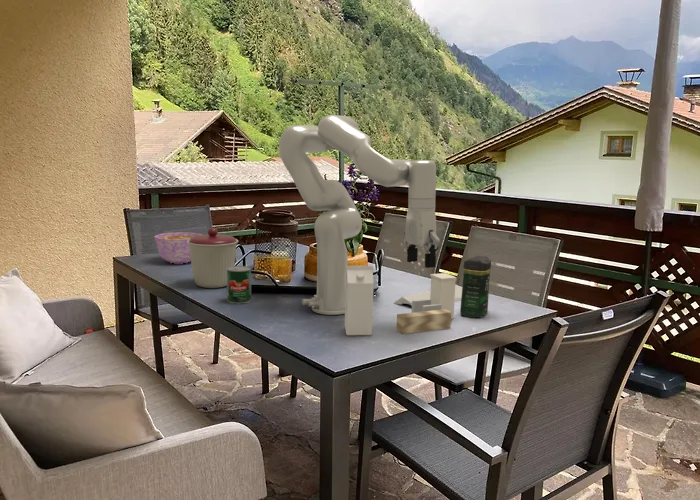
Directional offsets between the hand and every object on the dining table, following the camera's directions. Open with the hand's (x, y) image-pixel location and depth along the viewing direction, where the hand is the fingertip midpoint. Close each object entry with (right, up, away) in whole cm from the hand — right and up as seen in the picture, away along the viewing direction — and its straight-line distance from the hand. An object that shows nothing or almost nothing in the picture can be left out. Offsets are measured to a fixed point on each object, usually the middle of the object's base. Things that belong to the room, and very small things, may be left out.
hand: (421, 264), depth 170 cm
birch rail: (+1, -19, +2) cm, 19 cm away
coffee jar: (+19, -16, +18) cm, 31 cm away
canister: (-70, -9, +48) cm, 85 cm away
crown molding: (+9, -14, +34) cm, 38 cm away
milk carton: (-18, -19, -2) cm, 26 cm away
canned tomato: (-57, -13, +27) cm, 65 cm away
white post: (+6, -17, +14) cm, 22 cm away
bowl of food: (-93, -1, +86) cm, 127 cm away
